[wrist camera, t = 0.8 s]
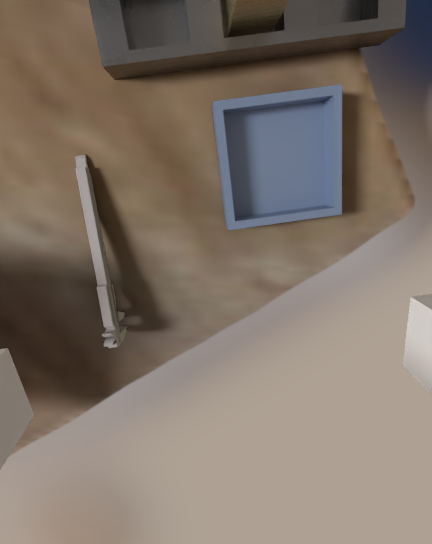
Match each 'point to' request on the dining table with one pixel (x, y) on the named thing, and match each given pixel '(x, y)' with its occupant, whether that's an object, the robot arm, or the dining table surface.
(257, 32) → the brass peg
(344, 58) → the dining table surface
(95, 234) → the caliper
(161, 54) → the socket rail
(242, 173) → the tray
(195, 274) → the dining table surface
